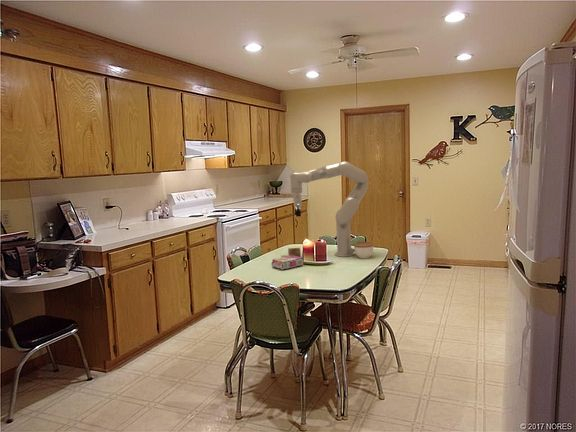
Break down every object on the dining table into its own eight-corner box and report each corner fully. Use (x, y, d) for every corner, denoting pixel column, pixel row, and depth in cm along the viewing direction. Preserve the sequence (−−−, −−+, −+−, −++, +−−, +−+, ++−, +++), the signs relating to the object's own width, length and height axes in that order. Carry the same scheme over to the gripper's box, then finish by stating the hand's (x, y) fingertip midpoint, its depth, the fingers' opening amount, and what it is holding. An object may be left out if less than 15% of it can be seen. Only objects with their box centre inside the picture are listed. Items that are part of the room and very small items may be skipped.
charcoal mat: (295, 261, 294) (295, 260, 294) (297, 266, 279) (297, 265, 279) (271, 262, 293) (271, 262, 293) (272, 268, 279) (272, 267, 279)
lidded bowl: (372, 254, 301) (372, 238, 299) (374, 259, 288) (374, 242, 287) (353, 255, 302) (353, 239, 301) (354, 259, 290) (354, 243, 288)
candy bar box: (303, 257, 280) (282, 262, 270) (303, 264, 281) (283, 270, 271) (292, 254, 289) (271, 259, 279) (293, 261, 290) (272, 266, 280)
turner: (300, 255, 310) (299, 247, 310) (300, 257, 305) (300, 248, 305) (281, 257, 310) (280, 248, 309) (281, 258, 305) (281, 250, 304)
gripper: (303, 191, 296) (304, 216, 298) (300, 189, 313) (302, 213, 315) (291, 191, 295) (293, 217, 297) (290, 190, 312) (291, 214, 315)
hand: (297, 215), depth 306 cm, fingers open, 9 cm apart
